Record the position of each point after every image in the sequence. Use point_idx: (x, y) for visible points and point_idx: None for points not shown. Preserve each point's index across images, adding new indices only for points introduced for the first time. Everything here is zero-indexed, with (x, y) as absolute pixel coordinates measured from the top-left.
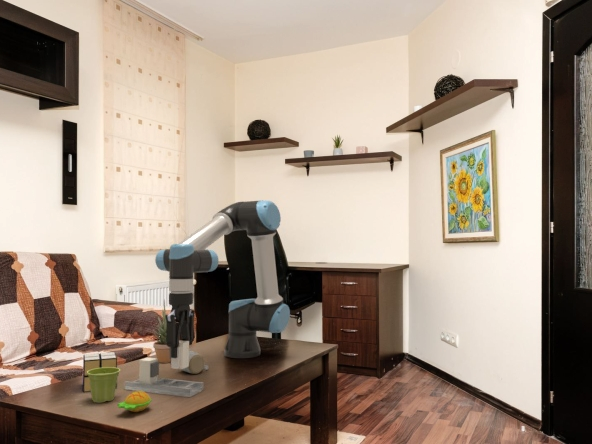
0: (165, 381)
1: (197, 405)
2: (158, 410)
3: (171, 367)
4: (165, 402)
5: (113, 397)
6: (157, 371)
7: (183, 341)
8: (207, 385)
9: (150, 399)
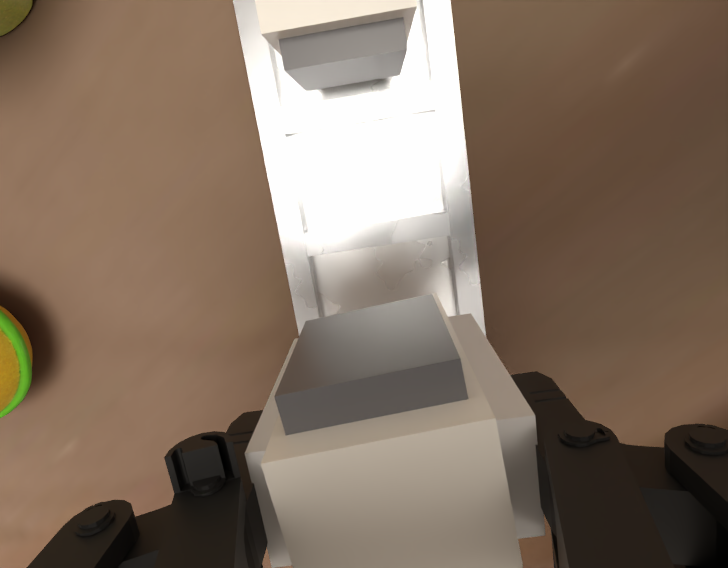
0: (435, 124)
1: None
2: (64, 426)
3: (293, 345)
4: (180, 367)
5: (3, 29)
6: (381, 72)
7: (451, 565)
8: (589, 360)
9: (6, 408)
